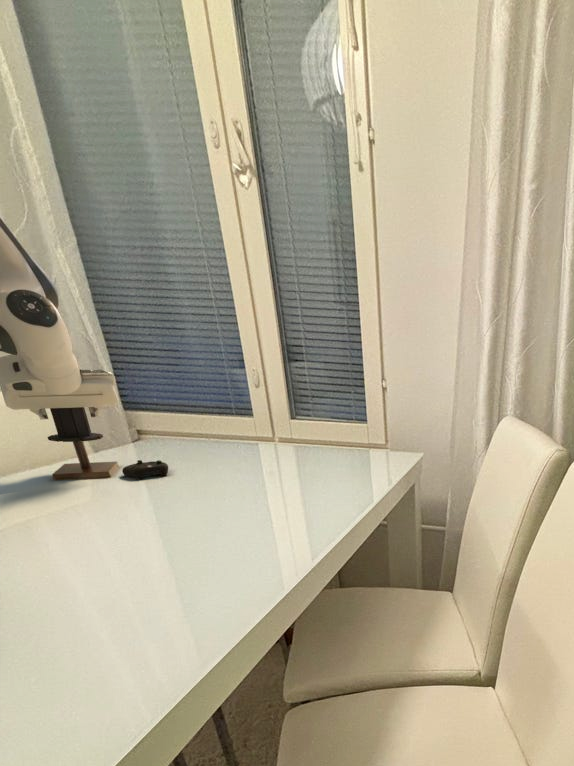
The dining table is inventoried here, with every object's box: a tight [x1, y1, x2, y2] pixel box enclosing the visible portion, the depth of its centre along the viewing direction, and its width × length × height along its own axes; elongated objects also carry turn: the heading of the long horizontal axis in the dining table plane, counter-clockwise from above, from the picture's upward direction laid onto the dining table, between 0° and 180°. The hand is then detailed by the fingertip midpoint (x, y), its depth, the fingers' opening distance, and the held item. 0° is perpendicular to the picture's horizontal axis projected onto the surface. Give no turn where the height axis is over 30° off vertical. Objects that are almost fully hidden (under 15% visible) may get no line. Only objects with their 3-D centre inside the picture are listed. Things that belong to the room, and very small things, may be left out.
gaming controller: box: [121, 459, 169, 480], centre depth 128 cm, size 10×5×6 cm
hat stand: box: [51, 441, 120, 481], centre depth 124 cm, size 11×11×16 cm
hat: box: [47, 407, 104, 443], centre depth 122 cm, size 10×10×9 cm
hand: (69, 415), depth 123 cm, fingers open, 8 cm apart
